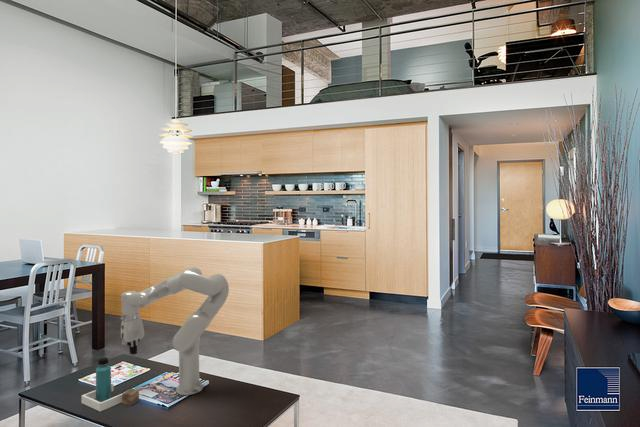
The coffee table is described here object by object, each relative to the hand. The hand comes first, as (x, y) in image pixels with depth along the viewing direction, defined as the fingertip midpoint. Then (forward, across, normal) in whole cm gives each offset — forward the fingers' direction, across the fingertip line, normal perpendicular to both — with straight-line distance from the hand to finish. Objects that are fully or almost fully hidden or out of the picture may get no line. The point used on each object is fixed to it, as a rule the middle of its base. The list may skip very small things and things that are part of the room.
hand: (133, 353), depth 206 cm
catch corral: (+18, -14, +2) cm, 23 cm away
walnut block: (+18, -9, -9) cm, 23 cm away
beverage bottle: (+18, -15, +2) cm, 23 cm away
